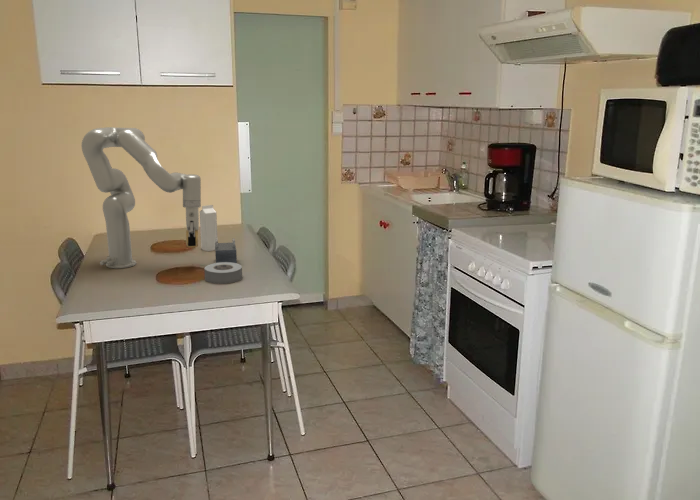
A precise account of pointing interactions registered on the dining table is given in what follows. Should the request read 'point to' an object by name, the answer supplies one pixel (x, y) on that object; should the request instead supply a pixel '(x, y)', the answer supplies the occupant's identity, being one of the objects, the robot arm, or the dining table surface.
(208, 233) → the milk
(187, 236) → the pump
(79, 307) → the dining table surface
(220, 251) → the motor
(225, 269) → the tape roll
